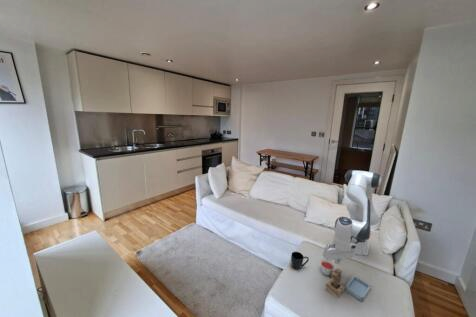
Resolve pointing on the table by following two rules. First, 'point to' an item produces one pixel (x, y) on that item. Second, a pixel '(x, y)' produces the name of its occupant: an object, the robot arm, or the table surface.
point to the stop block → (336, 273)
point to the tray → (357, 288)
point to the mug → (297, 260)
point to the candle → (327, 267)
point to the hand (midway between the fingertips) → (337, 263)
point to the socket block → (332, 289)
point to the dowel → (336, 281)
